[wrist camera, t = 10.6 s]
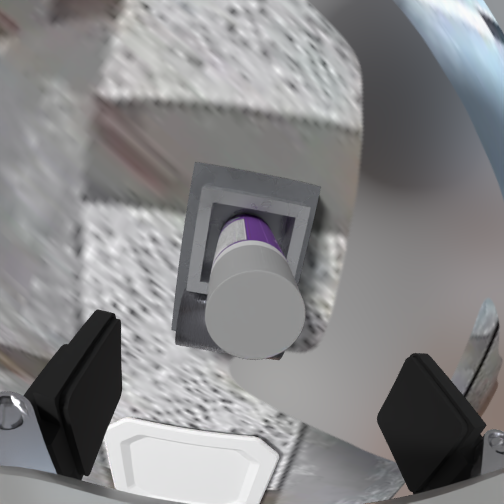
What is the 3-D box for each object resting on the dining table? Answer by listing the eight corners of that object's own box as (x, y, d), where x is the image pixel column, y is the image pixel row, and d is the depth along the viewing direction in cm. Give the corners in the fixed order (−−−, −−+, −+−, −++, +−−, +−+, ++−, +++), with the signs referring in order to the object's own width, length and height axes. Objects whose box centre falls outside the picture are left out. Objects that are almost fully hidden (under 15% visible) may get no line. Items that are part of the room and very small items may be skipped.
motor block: (199, 162, 29) (186, 161, 22) (313, 184, 30) (338, 191, 23) (176, 316, 33) (161, 358, 26) (277, 332, 34) (288, 376, 27)
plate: (252, 509, 45) (253, 518, 43) (119, 490, 43) (117, 498, 41) (284, 429, 39) (287, 441, 37) (104, 401, 37) (99, 412, 35)
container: (283, 242, 29) (329, 320, 14) (243, 275, 29) (250, 378, 15) (248, 202, 28) (262, 244, 13) (207, 237, 28) (179, 313, 14)
